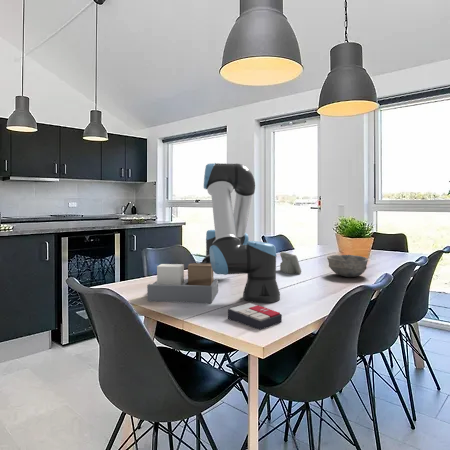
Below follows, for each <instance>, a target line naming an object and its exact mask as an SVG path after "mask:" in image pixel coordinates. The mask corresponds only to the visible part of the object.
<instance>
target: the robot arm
mask: <svg viewBox="0 0 450 450" xmlns="http://www.w3.org/2000/svg"><path fill="white" fill-rule="evenodd" d="M204 168H205V169H204V177H203V189H204V190H207V193H208V195H210V196H211V203H212V214H213V215H212V216H213V224H214V225H213V226H214V229H208V230H207V231H206V232H205V233H206V236H205V244H206V245H205V248H206V251H205V257H204V258H203V259H202V260H201V262H200V263H211V266H212V269H213V273H214V274H216V275H224V276H226V275H241V274H243V275H246V274H247V279H246V283H245V286H244V289H243V293H242V299H243V300H245V301H247V302H249V303H256V304H257V303H258V304H269V303H274V302H278V301H280V300H281V293H280V289H279V285H278V283H277V249H276V246H275V245H274V244H272V243H269V242H262V241H256V240H255V241H254V240H249V234H248V233H247V231H246V230H247V225H248V218H249V214H250V208H251V202H252V196H253V195H254V194H255V191H256V181H255V178H254V174H253V173H252V171H251V170H250V169H249V168H248V167H247V166H246V165H243V164H241V163H218V162H217V163H216V162H214V163H207V164H206V165H205V167H204ZM233 190H234V192H235V200H234V207H233V204H232V203H233V202H232V201H233V200H232V196H231V195H232V193H233Z"/></svg>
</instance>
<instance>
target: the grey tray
mask: <svg viewBox="0 0 450 450" xmlns="http://www.w3.org/2000/svg"><path fill="white" fill-rule="evenodd" d="M146 290H147V291H146V292H147V294H146V295H147V296H146V297H147V302H160V303H161V302H164V303H165V302H166V303H167V302H168V303H189V304H190V303H191V304H192V303H193V304H195V303H198V304H212V303H213V302H214V300H215V298H216V297H217V295H218V293H219V280H218V279H213V283H212V284H211V286H204V285H188V278H187V279H186V280H184V283H182V284H181V285H166V284H157V280H156V281H155V282H153V283H152V284H151V283H149V284H147V289H146Z"/></svg>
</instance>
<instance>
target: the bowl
mask: <svg viewBox="0 0 450 450" xmlns="http://www.w3.org/2000/svg"><path fill="white" fill-rule="evenodd" d="M326 259H327V260H328V267H329V269H331V271H332V272H333V273H335V274H336V275H338V276H341V277H345V278H357V277H358V276H361V275H363V274H364V273H365V271H366V270H367V265H368V262H369V258H367V257H364V256H361V255H352V254H342V255H339V254H332V255H328V256H327V257H326Z"/></svg>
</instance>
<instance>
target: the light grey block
mask: <svg viewBox="0 0 450 450" xmlns="http://www.w3.org/2000/svg"><path fill="white" fill-rule="evenodd" d="M184 268H185V264H182V263H181V264H178V263H171V264H170V263H160V264H159V265H156V281H157V284H166V285H181V284H182V283H184V282H185V269H184Z"/></svg>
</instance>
